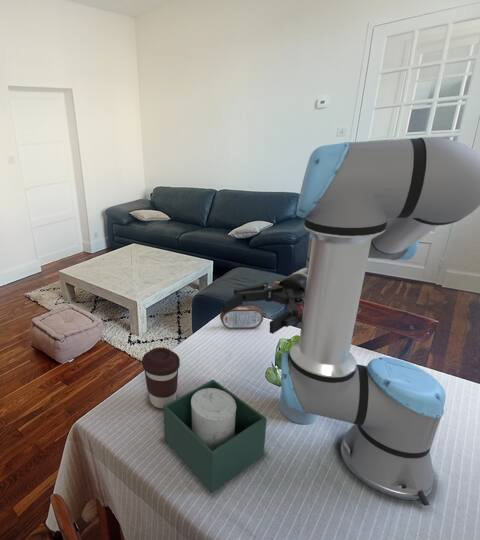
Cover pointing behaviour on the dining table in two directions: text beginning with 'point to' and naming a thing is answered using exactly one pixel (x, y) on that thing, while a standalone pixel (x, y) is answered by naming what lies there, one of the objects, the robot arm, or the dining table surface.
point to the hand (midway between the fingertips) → (245, 317)
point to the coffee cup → (161, 375)
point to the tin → (242, 317)
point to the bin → (225, 456)
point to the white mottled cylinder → (213, 416)
